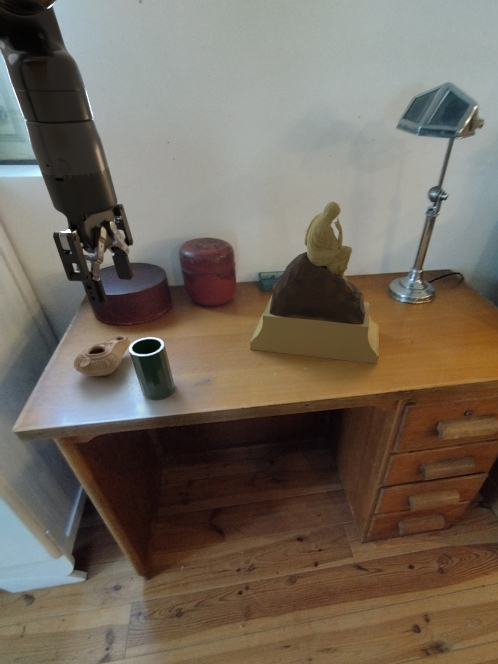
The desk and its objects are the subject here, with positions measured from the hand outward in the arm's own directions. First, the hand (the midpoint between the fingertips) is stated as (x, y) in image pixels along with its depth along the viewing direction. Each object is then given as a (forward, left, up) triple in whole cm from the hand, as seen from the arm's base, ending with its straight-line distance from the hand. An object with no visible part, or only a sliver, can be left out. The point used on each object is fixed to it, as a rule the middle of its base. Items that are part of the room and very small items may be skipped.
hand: (113, 290), depth 57 cm
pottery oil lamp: (-6, +13, -22) cm, 27 cm away
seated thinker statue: (+38, +7, -22) cm, 45 cm away
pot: (+2, +2, -22) cm, 22 cm away
